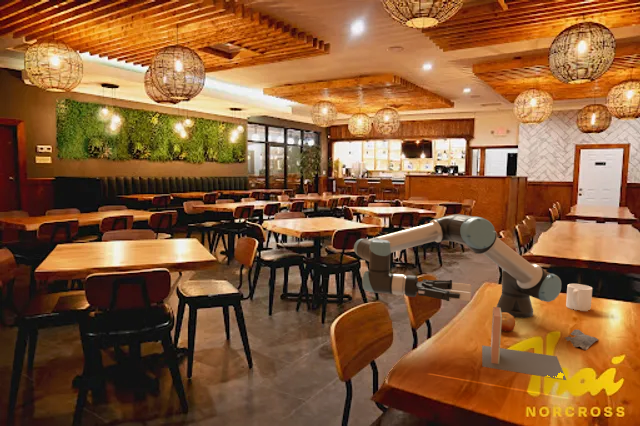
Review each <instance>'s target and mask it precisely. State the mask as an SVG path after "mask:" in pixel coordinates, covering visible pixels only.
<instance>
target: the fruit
mask: <svg viewBox="0 0 640 426" xmlns="http://www.w3.org/2000/svg"><path fill="white" fill-rule="evenodd" d="M501 314H502V325H501V332H505V333H506V332H509V333H511V332H513V331H514V330H515V327H516V319H515V318H516V317H513V316H512V315H510V314H509V313H507V312H501Z"/></svg>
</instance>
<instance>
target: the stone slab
mask: <svg viewBox="0 0 640 426" xmlns="http://www.w3.org/2000/svg"><path fill="white" fill-rule="evenodd" d="M570 335H571V336H565V337H564V339H565V340H566V341H567V342H569V341H570V343H571V344H572V347H574V348H578V347H580V348H581V350H583V351H587V350H588V349H589V348H590V347H592V345H593V344H594V343H596V342H597V341H599V338H597V337H594V336H590V335H588V334H585V333H584V332H583V331H581V330H580V329H574V330H572V332H571V333H570ZM572 336H573V337H572Z"/></svg>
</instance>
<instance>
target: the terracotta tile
mask: <svg viewBox="0 0 640 426" xmlns="http://www.w3.org/2000/svg"><path fill="white" fill-rule="evenodd" d="M491 322H492V323H491V336H490V337H491V338H490V347H491V363H496V364H499V359H500V348H501V341H502V340H501V339H502V338H501V337H502V331H501V325H502V314H501V308H499V307H497V306H493V308H492V321H491Z"/></svg>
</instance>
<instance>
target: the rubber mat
mask: <svg viewBox="0 0 640 426" xmlns="http://www.w3.org/2000/svg"><path fill="white" fill-rule="evenodd" d="M481 348H482V349H481V351H482V353H481V356H482V357H481V360H482V361H481V362H482V365H481V366H482V367H483V368H489V369H496V370H502V371H508V372H514V373H520V374H526V375H532V376H538V377H545V376H547V375H548V376H550V377H551V378H550V377H549V378H550V379H556V378H555V376H556V377H557V375H558V373H560V372H561V373H563V374H564V376H563V381H567V377H566V375H565V373H564V370H563V368H562V366H561V363H560V361H559V358H558V356H557V355H552V354H551V355H550V354H543V353H537V352H530V351H522V350H516V349H509V348H502V347H500V359H499V364H496V363H491V345H489V346H488V345H481ZM553 376H554V377H553ZM545 378H546V377H545ZM557 380H559V379H558V378H557Z"/></svg>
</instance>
